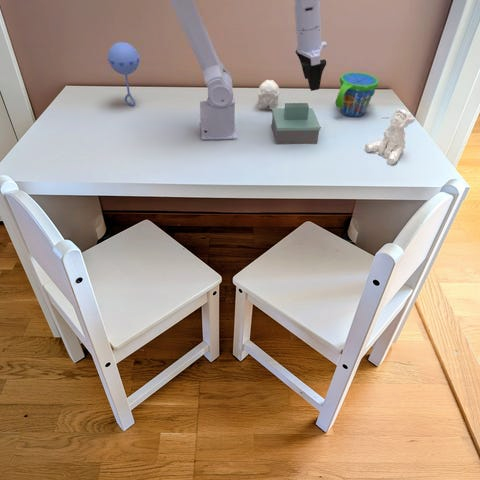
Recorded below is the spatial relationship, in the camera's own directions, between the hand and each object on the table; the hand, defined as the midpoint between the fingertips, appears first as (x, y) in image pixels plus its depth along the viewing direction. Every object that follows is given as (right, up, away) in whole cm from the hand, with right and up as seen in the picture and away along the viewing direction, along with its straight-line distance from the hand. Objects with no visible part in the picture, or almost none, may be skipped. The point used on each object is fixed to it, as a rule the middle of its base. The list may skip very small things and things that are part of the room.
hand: (311, 83), depth 103 cm
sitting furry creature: (+20, -17, +3) cm, 27 cm away
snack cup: (+16, -1, +20) cm, 25 cm away
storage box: (-3, -10, +9) cm, 14 cm away
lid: (-3, -8, +7) cm, 11 cm away
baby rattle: (-51, +1, +21) cm, 55 cm away
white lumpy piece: (-9, +2, +23) cm, 25 cm away
